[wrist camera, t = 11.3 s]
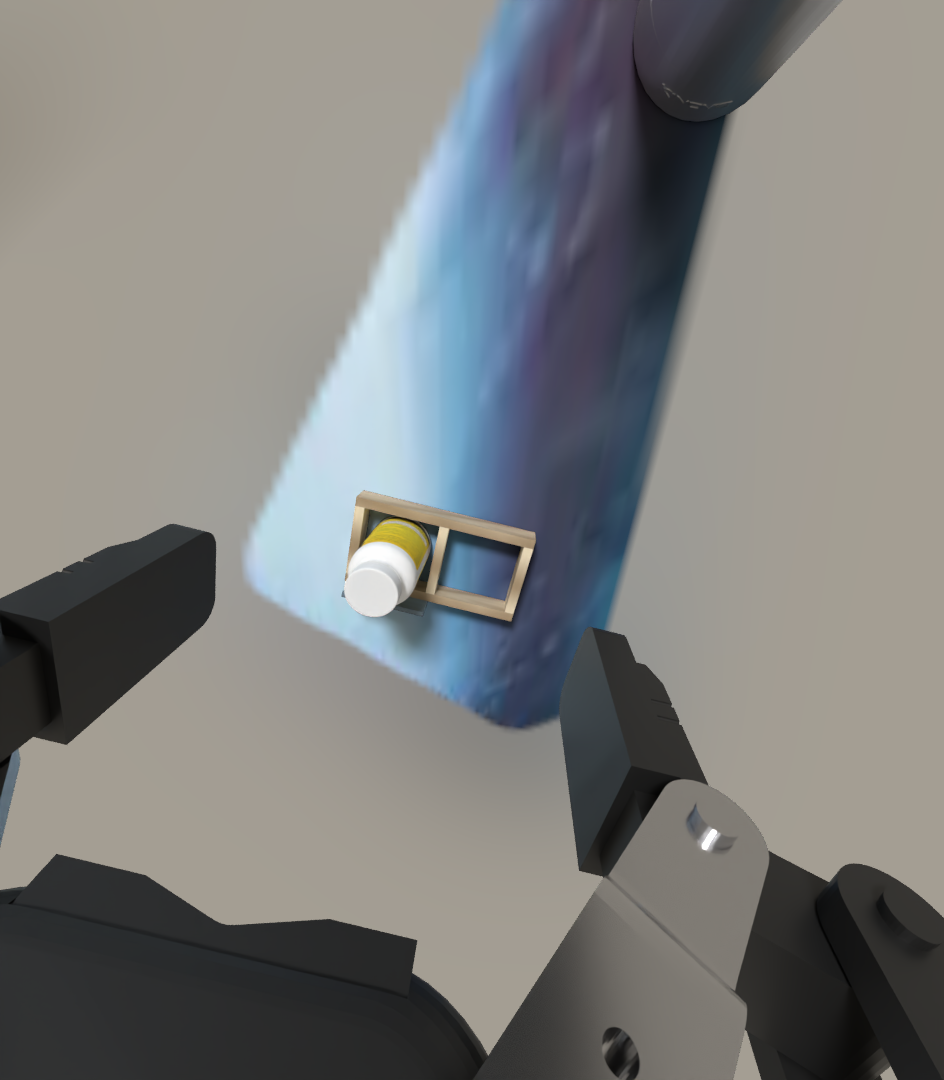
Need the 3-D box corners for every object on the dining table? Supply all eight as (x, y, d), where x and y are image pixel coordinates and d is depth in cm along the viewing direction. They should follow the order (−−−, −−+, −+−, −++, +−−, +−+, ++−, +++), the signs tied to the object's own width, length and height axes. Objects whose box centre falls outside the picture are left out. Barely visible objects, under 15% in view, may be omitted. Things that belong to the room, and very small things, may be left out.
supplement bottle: (373, 510, 41) (334, 553, 32) (434, 518, 41) (411, 564, 32) (371, 565, 43) (334, 620, 34) (429, 573, 43) (406, 631, 34)
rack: (363, 490, 41) (348, 503, 37) (534, 532, 41) (537, 550, 37) (351, 575, 44) (336, 595, 40) (510, 613, 44) (509, 637, 40)
